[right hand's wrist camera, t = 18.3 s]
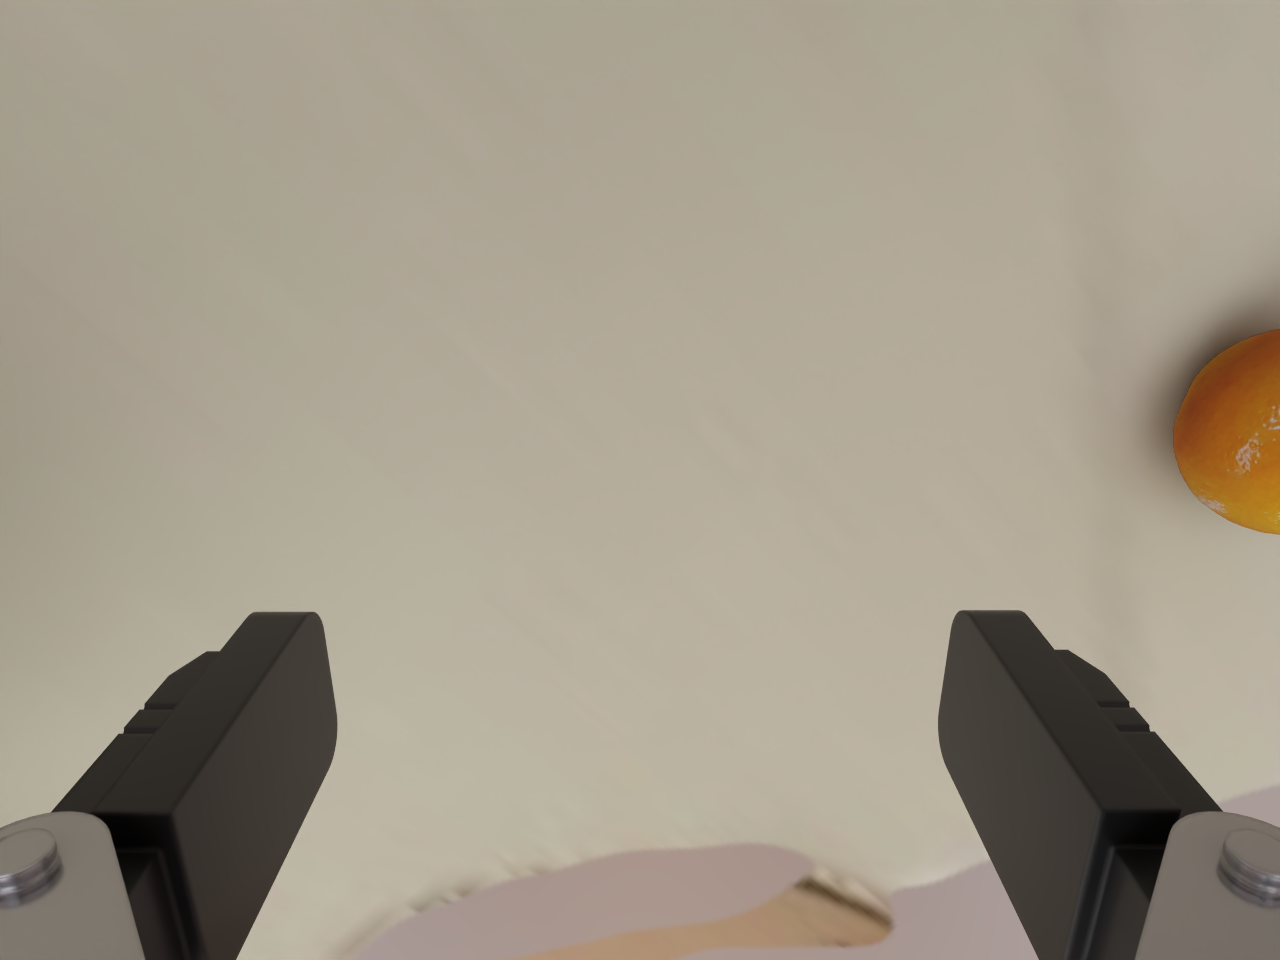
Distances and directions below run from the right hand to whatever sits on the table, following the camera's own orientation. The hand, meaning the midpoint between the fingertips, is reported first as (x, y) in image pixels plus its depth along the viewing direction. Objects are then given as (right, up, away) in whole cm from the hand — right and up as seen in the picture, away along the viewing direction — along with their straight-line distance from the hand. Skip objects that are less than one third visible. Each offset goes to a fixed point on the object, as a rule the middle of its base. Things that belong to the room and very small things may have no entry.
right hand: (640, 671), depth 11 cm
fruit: (+27, +6, +29) cm, 40 cm away
